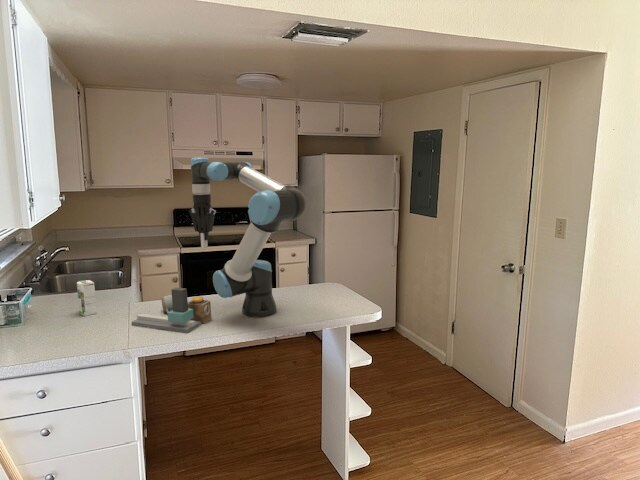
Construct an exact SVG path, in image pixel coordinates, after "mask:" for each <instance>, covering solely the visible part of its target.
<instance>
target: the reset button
mask: <svg viewBox="0 0 640 480" xmlns="http://www.w3.org/2000/svg"><path fill="white" fill-rule="evenodd" d="M203 300H204V297H203V296H200V295H199V296H198V295H197V296H194V297H192V300H191V301H193V302H202V301H203Z"/></svg>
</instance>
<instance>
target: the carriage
mask: <svg viewBox="0 0 640 480" xmlns="http://www.w3.org/2000/svg"><path fill="white" fill-rule="evenodd" d="M187 289H188V288H183V287H174V288H171V295H172V305H173V310H172V311H170V312H168V313H167V317H168V322H175V323H182V324H183V323H185V322H187V321H189V320H190V319H192V318H194V314H193V309H189V308H188V302H189V301H188V290H187Z"/></svg>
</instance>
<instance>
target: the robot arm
mask: <svg viewBox="0 0 640 480" xmlns="http://www.w3.org/2000/svg"><path fill="white" fill-rule="evenodd" d="M253 167H254V166H253V165H252V163H250V162H247V161H210V159H209V158H208V157H192V158H191V159H190V172H191V189H192V194H193V195H192V203H193V205H192V208H191V209H188V213H189V214H190V217H191V220H192V221H191V222H192V223H193V224H192V225H193V228H194V231H195V232H198V237H199V241H200V248H202V249H206V248H208V247H209V245H208V243H209V242H208V241H209V239H210V238H209V236H210V235H209V233H210V232H213V227H214V222H215V215H216V214H217V212H218V211H217V210H216V209H213V207H212V205H211V203H212V199H211V198H212V197H211V194H210V193H211V181H214V182H219V181H220V182H222V181H234V180H235V181H237V182H238V181H239V182H240V183H242V184H243V185H245V186H246V187H248V188H251V189H253V190H254V191H256V193H255V194H253V195H252V196H251V198H250V200H249V202H248V206H247V207H248V210H247V213H248V217H249V221H250V222H249V226H248V227H247V229H246V231H245V233H244V235H243V237H242V239H241V240H240V242H239V245H238V247H237V249H236V251H235V253H234V254H233V257H232V259H230V260H228V261H226V263H224V265H223V268H222V269H218V270H216V271H215V272H214V273H213V275H212V283H213V287H214V289H215V292H216V293H217V294H218V296H220V297H221V298H222V299H228V298H233V297H236V296H240V295H243V294H245V295H244V296H245V297H244V300H243V303H242V306H241V313H242V315H243V316H246V317H250V318H252V317H253V318H263V317H269V316H272V315H275V314H276V313H277V310H278V309H277V304H276V301H275V298H274V295H273V274H272V272H273V270H272V264H271V262H269V261H268V260H263V259H258V258H259V256H260V254H261V253H262V251H263V249H264V247H265V245H266V244H267V242H268V240H269V238H270V236H272V235H271V234H275V233H276V232H278V230H279V229H280V227H281V225H282V223H284V222H289V221H296V220H297V219H299V218H300V217H302V215H303V214H304V213H305V211H306V208H307V199H306V197H305V195H304V193H303V191H302V192H301V190H299V189H298V188H296V187H295V186H292V185H290V184H286V185H285V184H283V183H281V182H279V181H277V180H275V179H273V178H271V177H269V176H268V175H266V174H264V173H262V172H260V171H258V170H256V169H254V168H253Z"/></svg>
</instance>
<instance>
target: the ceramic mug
mask: <svg viewBox="0 0 640 480" xmlns="http://www.w3.org/2000/svg"><path fill="white" fill-rule="evenodd" d="M161 306H162V307H161V308H162V310H163V313H166V314H168V312H170V311H172V310H173V305H172V294H169V295H165V296H162V297H161Z"/></svg>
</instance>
